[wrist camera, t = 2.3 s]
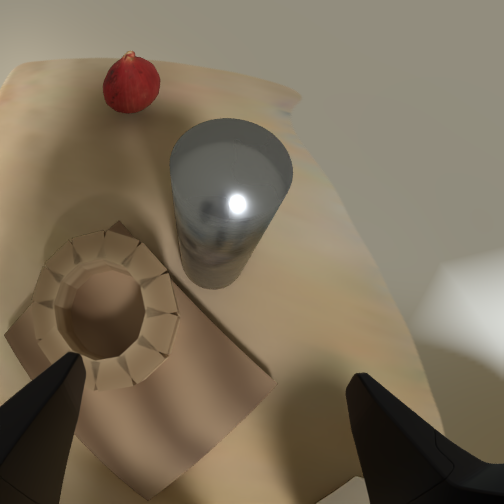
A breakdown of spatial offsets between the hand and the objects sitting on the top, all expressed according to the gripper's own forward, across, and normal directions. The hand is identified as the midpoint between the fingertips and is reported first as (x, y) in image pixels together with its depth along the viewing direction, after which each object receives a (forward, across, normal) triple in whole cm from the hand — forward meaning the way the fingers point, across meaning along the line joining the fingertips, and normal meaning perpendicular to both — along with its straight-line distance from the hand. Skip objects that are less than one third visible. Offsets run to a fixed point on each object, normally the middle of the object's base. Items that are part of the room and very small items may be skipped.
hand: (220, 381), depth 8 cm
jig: (+9, +6, +10) cm, 15 cm away
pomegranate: (+26, +10, -7) cm, 29 cm away
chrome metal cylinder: (+15, 0, +4) cm, 16 cm away
